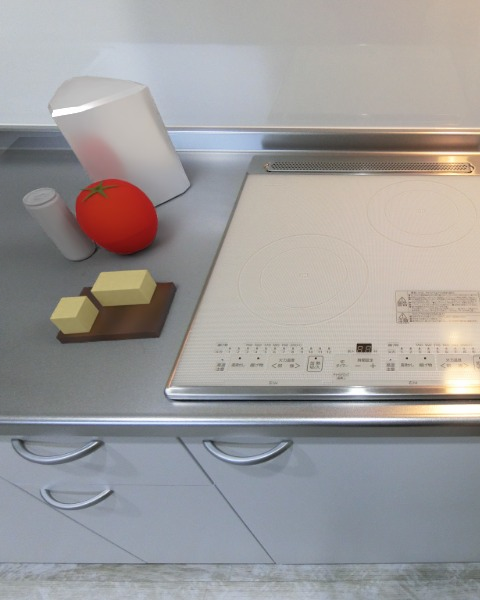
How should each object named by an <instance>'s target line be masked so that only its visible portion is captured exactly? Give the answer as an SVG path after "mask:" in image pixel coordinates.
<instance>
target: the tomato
mask: <svg viewBox="0 0 480 600" xmlns="http://www.w3.org/2000/svg"><path fill="white" fill-rule="evenodd" d="M78 190H79V191H80V193H79V194H78V195H77V197H76V199H75V205H74V210H75V217H76V219H77V221H78V223H79V225H80V227H81V229H82V230H83V231H84V233H85V234H86V235H87V236H88V237H89V238H90V239H91V240H92V241H93V243H94V244H96V245H98V246H99V247H101V248H103V249H104V250H106V251H108V252H111V253H114V254H118V255H130V254H131V255H132V254H133V253H137V252H140V251H142V250H144V249H146V248H148V247H149V246H150V245H152V243H153V242H154V239H155V238H156V236H157V232H158V229H159V217H158V213H157V209H156V206H154V205H153V204H152V202H151V200H150V199H149V198H148V197H147V195H146V194H145V193H144V192H143V191H142V190H140V189H139V188H138V187H137V186H135V185H133V184H131V183H129V182H127V181H123V180H119V179H106V180H102V181H98V182H96V183H93V182H92V183H91V184H89V185H88V186H86V187H84V188H81V189H80V188H79V189H78Z"/></svg>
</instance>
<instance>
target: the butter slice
mask: <svg viewBox="0 0 480 600" xmlns="http://www.w3.org/2000/svg"><path fill="white" fill-rule="evenodd" d="M98 313H99V311H98V309H97V308H96V307H95V306H94V305H93V303H92V302H91V301H90V300H89V298H88V297H87V296H79V295H78V296H67V297H61V298H60V299H59V302H58V304H57V305H56V306H55V309H54V311H53V312H52V314H51V315H50V317H49V320H50V321H51V322H52V323H53V324H54V325H55V326H56V327H57V328H58V329H59V331H60V330H61V331H62V332H63V333H64V334H71V333H85V332H89V331H90V329H91V327H92V325H93V323H94V321H95V319H96V317H97V315H98Z"/></svg>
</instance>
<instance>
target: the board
mask: <svg viewBox="0 0 480 600" xmlns="http://www.w3.org/2000/svg"><path fill="white" fill-rule="evenodd" d="M155 283H156V284H157V286H156V288H155V291H154V293H153V296H152V298H151V301H150V303H149V304H135V305H118V306H102V305H101V304H100V302H99V301H98V300H97V299H96V297H95V296H94V295H93V294H92V292H91V290H92V288H93V286H83V287H82V289H81V291H80V293H79V295H78V297H79V296H87V297H88V298H89V300H90V301H91V302H92V303H93V305H94V306H95V307H96V308H97V309H98V311H99V313H98V315H97V317H96V319H95V321H94V323H93V325H92V327H91V329H90V331H89V332H85V333H71V334H64V333H63V332H62V331H61V330H60V329H59V331H58V333H57V334H56V337H55V338H56V340H57V341H59V342H60V343H61V344H76V343H91V342H92V343H93V342H107V341H123V340H138V339H152V338H153V339H155V338H160V335H161V333H162V330H163V327H164V324H165V322H166V319H167V317H168V313H169V311H170V308H171V305H172V302H173V300H174V297H175V295H176V292H177V286H176V284H175V283H174V281H168V282H167V281H166V282H155Z"/></svg>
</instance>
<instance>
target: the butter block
mask: <svg viewBox="0 0 480 600" xmlns="http://www.w3.org/2000/svg"><path fill="white" fill-rule="evenodd" d="M156 283H157V282H156V281H155V280H154V278H153V276H152V275H151V273H150V272H149V269H134V270H132V269H131V270H114V271H100V273H99V274H98V276H97V278H96V280H95V281H94V284H93V286H92V287H93V288H92V290H91V292H92V294H93V295H94V296H95V297H96V299H97V300H98V301H99V302H100V304H101V305H102V306H118V305H135V304H149V303H150V301H151V298H152V296H153V293H154V291H155V288H156V286H157V284H156Z"/></svg>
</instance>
